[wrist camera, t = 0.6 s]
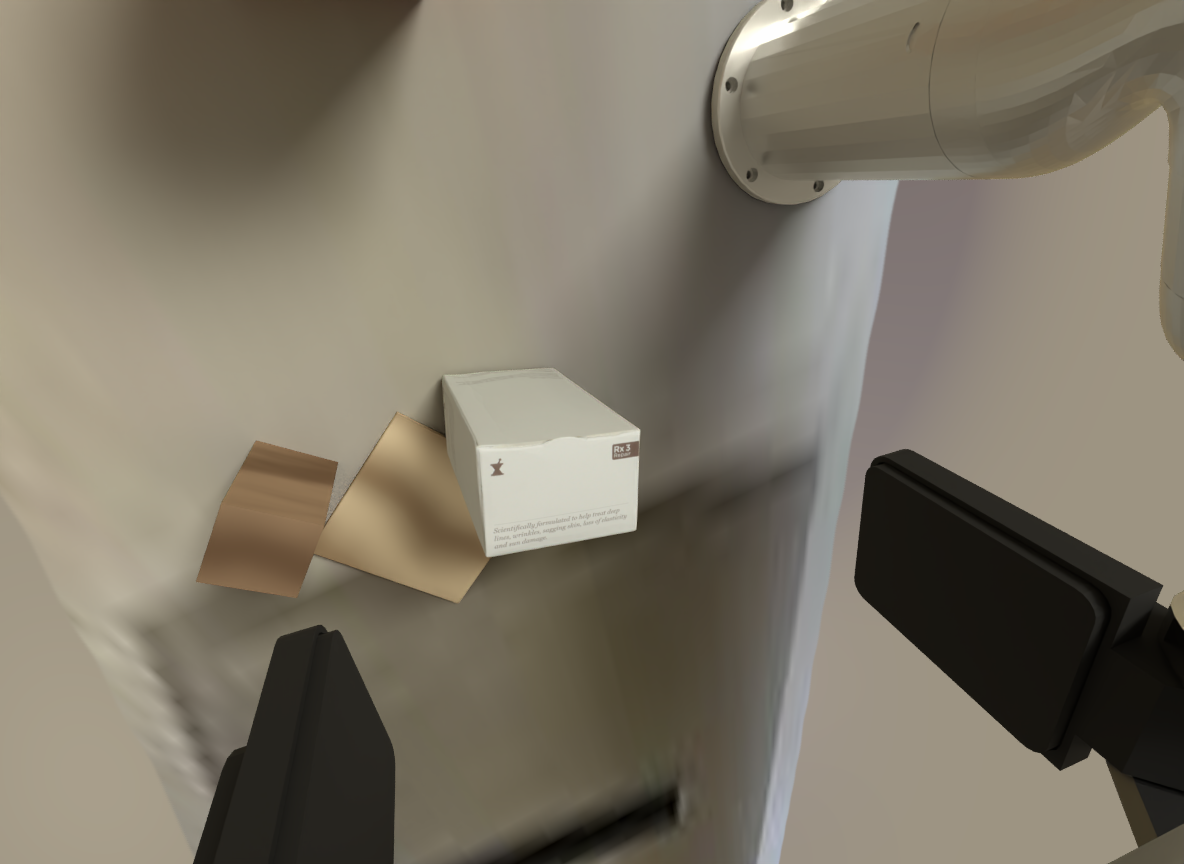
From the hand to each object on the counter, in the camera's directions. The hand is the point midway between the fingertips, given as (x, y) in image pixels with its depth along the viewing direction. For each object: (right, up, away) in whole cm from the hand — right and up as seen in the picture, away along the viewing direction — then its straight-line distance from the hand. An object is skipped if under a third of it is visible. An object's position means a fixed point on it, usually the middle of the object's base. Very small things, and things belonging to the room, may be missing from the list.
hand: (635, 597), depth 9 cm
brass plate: (-13, -3, +32) cm, 34 cm away
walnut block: (-21, -1, +28) cm, 35 cm away
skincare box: (-7, +5, +30) cm, 31 cm away
